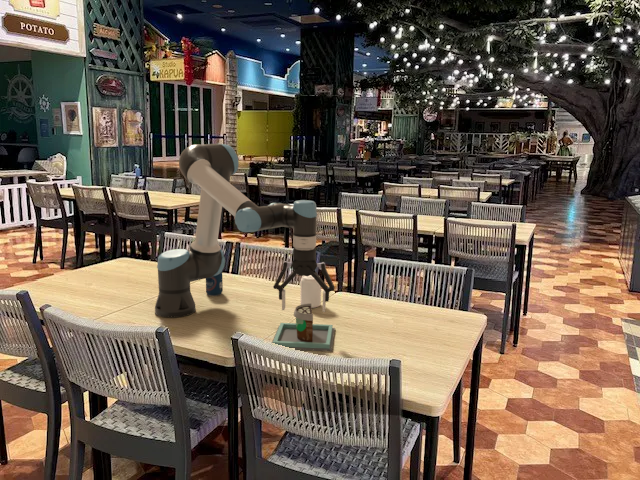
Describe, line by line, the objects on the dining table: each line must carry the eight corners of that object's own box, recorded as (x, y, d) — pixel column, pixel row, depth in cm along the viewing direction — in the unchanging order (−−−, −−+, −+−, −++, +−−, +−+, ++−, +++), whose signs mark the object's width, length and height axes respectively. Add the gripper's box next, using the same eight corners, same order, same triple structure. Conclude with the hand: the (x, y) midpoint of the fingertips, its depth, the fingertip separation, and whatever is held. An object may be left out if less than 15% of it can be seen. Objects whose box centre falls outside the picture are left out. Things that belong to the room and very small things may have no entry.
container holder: (269, 348, 183) (269, 343, 183) (278, 327, 203) (278, 321, 202) (331, 351, 182) (331, 345, 181) (334, 329, 201) (334, 324, 201)
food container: (293, 330, 198) (293, 303, 196) (310, 330, 198) (311, 303, 196) (293, 344, 186) (294, 314, 184) (312, 343, 186) (313, 314, 184)
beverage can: (318, 309, 223) (318, 280, 220) (298, 307, 224) (298, 278, 222) (322, 303, 231) (322, 274, 228) (303, 301, 232) (303, 273, 230)
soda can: (202, 295, 239) (202, 267, 237) (211, 290, 246) (211, 264, 243) (217, 297, 237) (216, 269, 234) (225, 292, 243) (225, 265, 241)
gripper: (264, 249, 183) (265, 311, 187) (342, 251, 181) (340, 314, 186) (268, 244, 190) (268, 304, 195) (343, 246, 189) (341, 307, 193)
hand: (303, 309), depth 190 cm, fingers open, 13 cm apart
